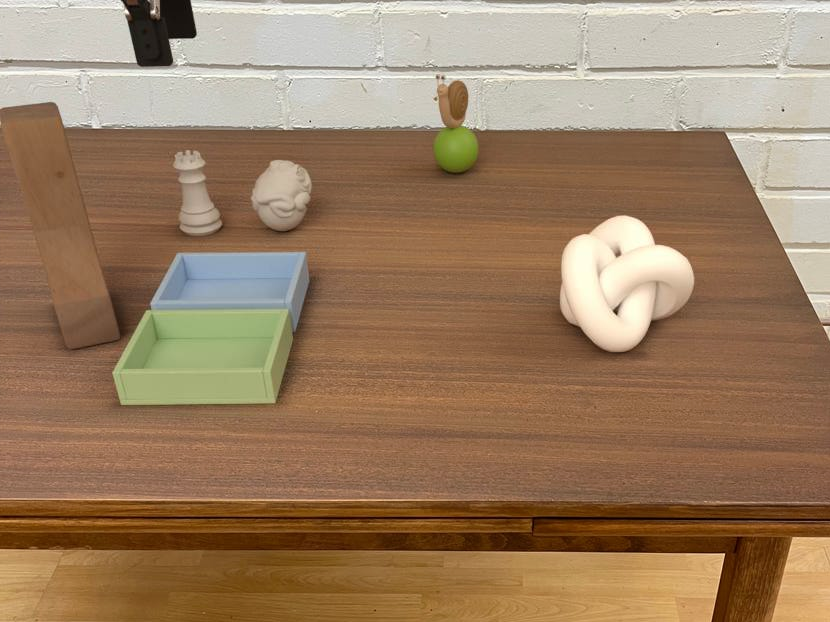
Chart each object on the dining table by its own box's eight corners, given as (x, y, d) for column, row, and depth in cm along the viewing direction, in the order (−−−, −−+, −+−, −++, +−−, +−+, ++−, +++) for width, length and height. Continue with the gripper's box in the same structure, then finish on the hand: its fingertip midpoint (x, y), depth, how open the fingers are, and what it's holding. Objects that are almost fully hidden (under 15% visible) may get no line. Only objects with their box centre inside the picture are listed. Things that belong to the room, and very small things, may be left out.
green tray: (120, 405, 75) (111, 372, 73) (153, 340, 83) (146, 309, 81) (275, 403, 75) (270, 371, 74) (293, 339, 83) (289, 308, 82)
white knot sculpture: (520, 311, 87) (523, 217, 82) (633, 286, 91) (642, 195, 86) (580, 370, 79) (588, 270, 74) (701, 340, 83) (717, 243, 78)
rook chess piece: (231, 228, 102) (218, 154, 97) (195, 241, 100) (180, 165, 95) (207, 217, 105) (193, 143, 100) (172, 229, 102) (156, 154, 97)
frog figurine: (328, 222, 103) (321, 158, 99) (286, 246, 99) (277, 180, 94) (285, 211, 106) (277, 148, 101) (242, 233, 101) (231, 168, 97)
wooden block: (121, 341, 83) (66, 132, 72) (67, 351, 82) (2, 140, 71) (108, 297, 90) (55, 99, 79) (58, 306, 88) (-3, 106, 77)
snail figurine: (422, 178, 114) (417, 72, 106) (446, 161, 118) (443, 58, 111) (462, 185, 112) (461, 78, 104) (486, 167, 116) (486, 63, 109)
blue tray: (157, 333, 84) (149, 303, 82) (183, 281, 92) (177, 252, 90) (295, 332, 84) (291, 301, 83) (309, 280, 92) (306, 251, 91)
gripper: (109, -173, 87) (152, 29, 98) (44, -154, 73) (102, 78, 84) (191, -175, 87) (226, 27, 98) (141, -156, 73) (187, 76, 84)
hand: (168, 51), depth 91 cm, fingers open, 9 cm apart
